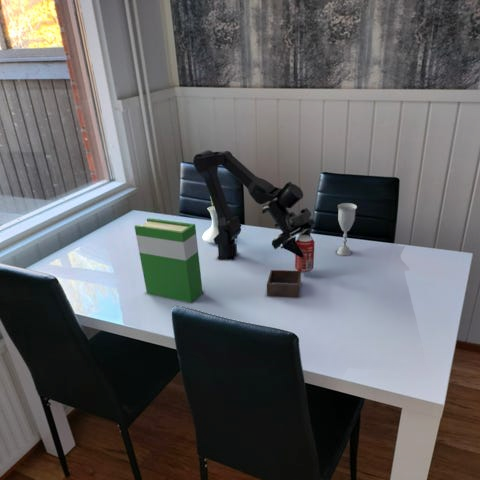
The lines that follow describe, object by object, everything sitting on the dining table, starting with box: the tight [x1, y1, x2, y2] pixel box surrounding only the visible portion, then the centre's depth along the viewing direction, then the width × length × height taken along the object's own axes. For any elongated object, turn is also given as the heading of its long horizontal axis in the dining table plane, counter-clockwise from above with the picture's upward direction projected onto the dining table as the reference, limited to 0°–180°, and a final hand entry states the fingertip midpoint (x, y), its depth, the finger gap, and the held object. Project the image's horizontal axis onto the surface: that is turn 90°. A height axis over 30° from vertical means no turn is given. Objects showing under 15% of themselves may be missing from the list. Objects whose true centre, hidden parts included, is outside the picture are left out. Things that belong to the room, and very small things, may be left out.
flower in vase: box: [201, 196, 219, 244], centre depth 188 cm, size 13×11×25 cm
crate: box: [266, 269, 302, 298], centre depth 154 cm, size 10×10×4 cm
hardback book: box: [134, 217, 204, 304], centre depth 151 cm, size 18×7×24 cm, turn 64°
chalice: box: [337, 202, 358, 256], centre depth 172 cm, size 7×7×18 cm
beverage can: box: [294, 235, 315, 274], centre depth 159 cm, size 6×6×12 cm
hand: (308, 253), depth 158 cm, fingers closed on beverage can, 6 cm apart
